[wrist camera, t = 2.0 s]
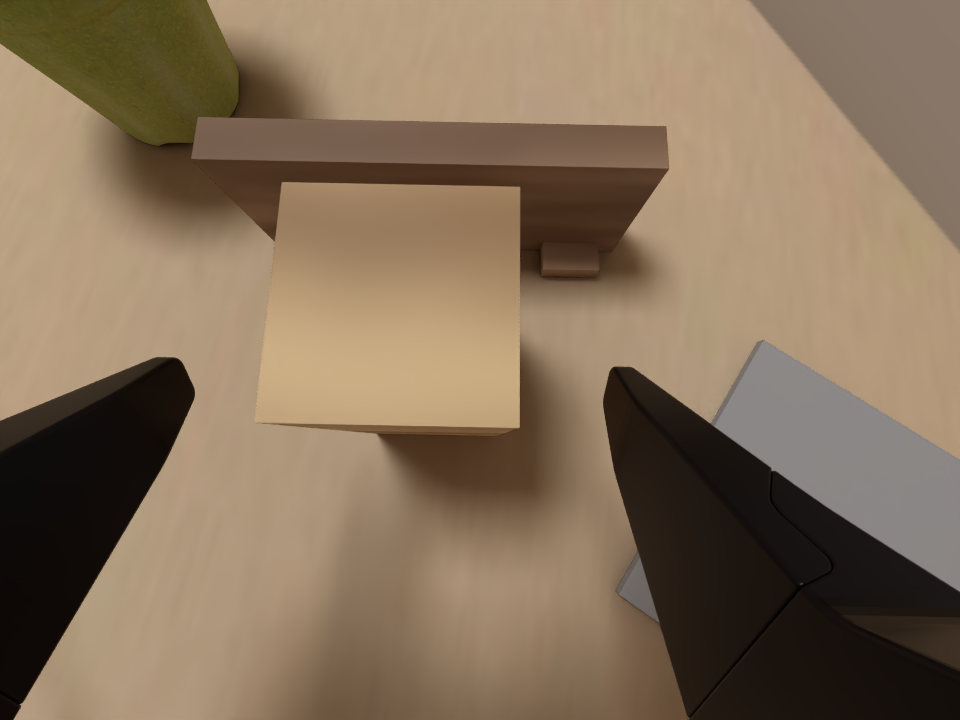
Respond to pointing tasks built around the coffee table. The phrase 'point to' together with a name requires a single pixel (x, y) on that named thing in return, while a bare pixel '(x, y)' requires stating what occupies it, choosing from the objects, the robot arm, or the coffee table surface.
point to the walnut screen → (453, 171)
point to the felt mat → (840, 463)
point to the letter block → (394, 310)
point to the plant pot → (130, 60)
